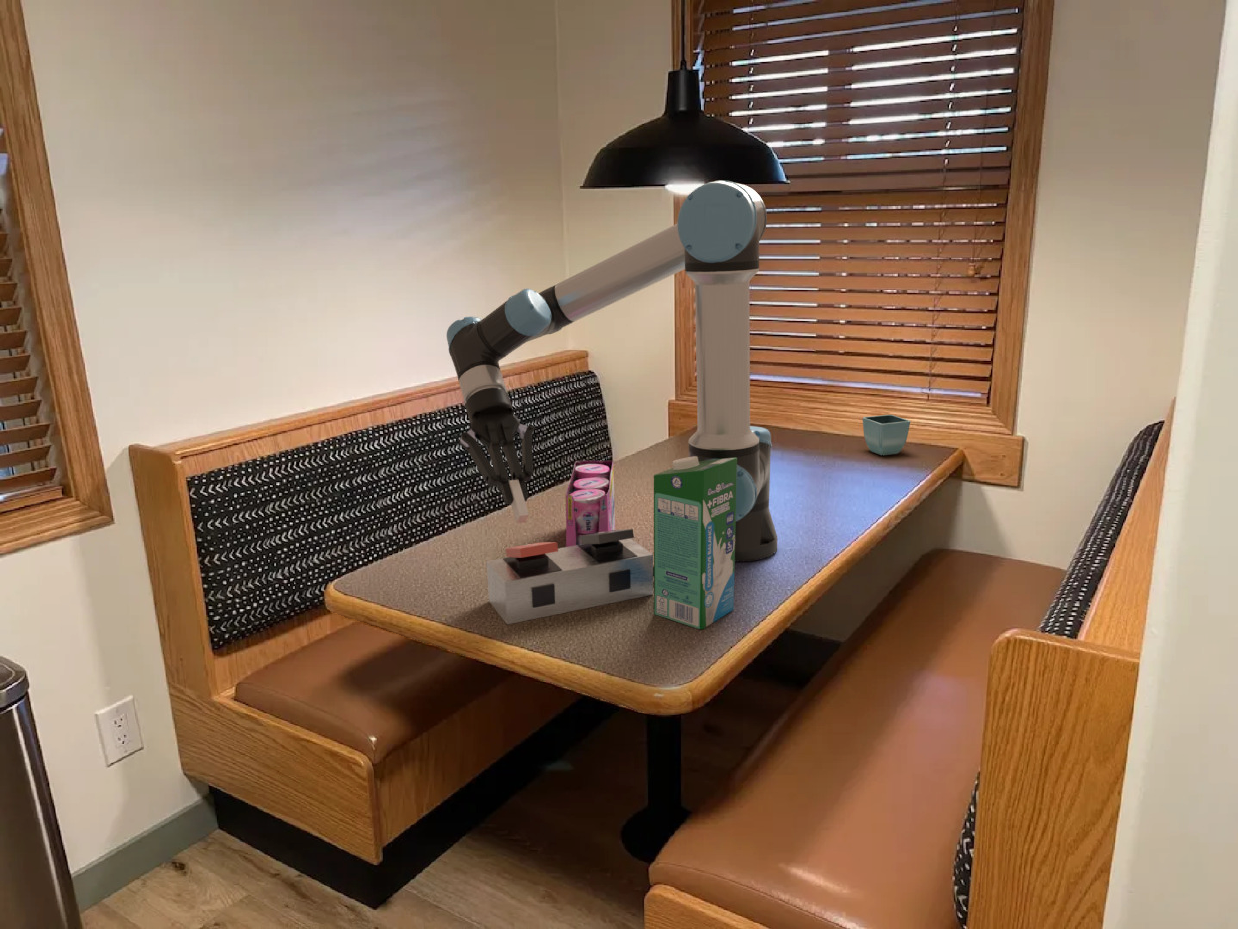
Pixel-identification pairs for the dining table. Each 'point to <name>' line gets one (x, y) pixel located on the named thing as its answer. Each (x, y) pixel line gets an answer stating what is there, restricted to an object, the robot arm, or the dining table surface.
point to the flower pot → (885, 433)
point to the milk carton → (695, 540)
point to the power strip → (569, 579)
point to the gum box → (590, 500)
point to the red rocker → (531, 549)
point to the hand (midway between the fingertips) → (522, 518)
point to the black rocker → (607, 536)
